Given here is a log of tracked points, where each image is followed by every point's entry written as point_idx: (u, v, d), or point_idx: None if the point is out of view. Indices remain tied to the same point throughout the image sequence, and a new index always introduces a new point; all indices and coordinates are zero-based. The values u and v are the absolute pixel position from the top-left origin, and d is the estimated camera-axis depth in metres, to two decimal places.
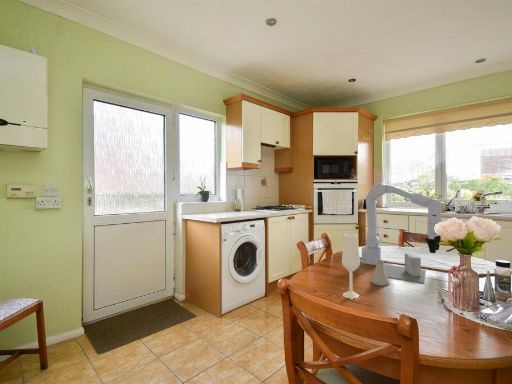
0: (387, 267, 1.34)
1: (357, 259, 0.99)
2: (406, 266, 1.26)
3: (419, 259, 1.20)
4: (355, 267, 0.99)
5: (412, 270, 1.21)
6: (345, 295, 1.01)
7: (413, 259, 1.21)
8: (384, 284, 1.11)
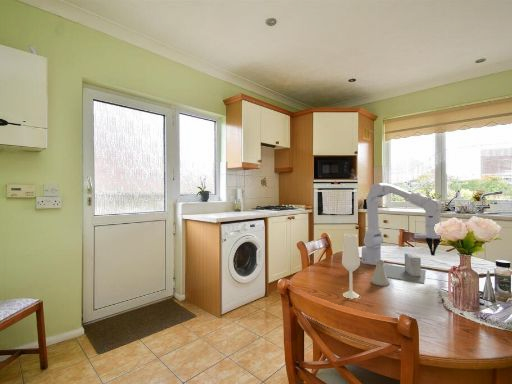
0: (387, 267, 1.34)
1: (357, 259, 0.99)
2: (406, 266, 1.26)
3: (419, 259, 1.20)
4: (355, 267, 0.99)
5: (412, 270, 1.21)
6: (345, 295, 1.01)
7: (413, 259, 1.21)
8: (384, 284, 1.11)
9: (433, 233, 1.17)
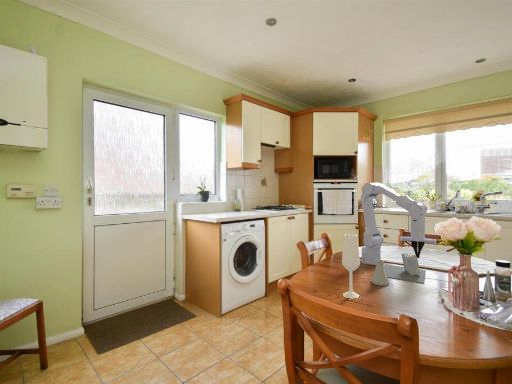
0: (387, 267, 1.34)
1: (357, 259, 0.99)
2: (405, 266, 1.26)
3: (415, 258, 1.21)
4: (355, 267, 0.99)
5: (411, 269, 1.21)
6: (345, 295, 1.01)
7: (410, 259, 1.21)
8: (384, 284, 1.11)
9: (418, 236, 1.20)
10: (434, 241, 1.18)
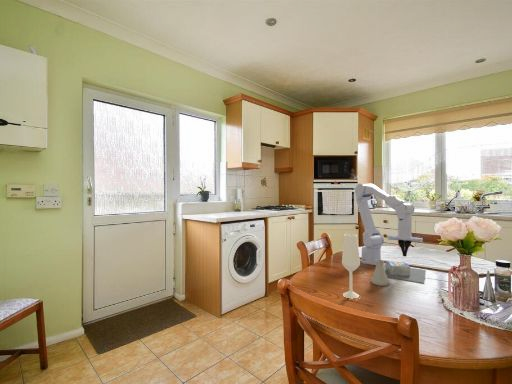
0: None
1: (357, 259, 0.99)
2: None
3: (392, 267, 1.23)
4: (355, 267, 0.99)
5: (403, 273, 1.22)
6: (345, 295, 1.01)
7: (392, 272, 1.23)
8: (384, 284, 1.11)
9: (405, 235, 1.23)
10: (420, 240, 1.21)
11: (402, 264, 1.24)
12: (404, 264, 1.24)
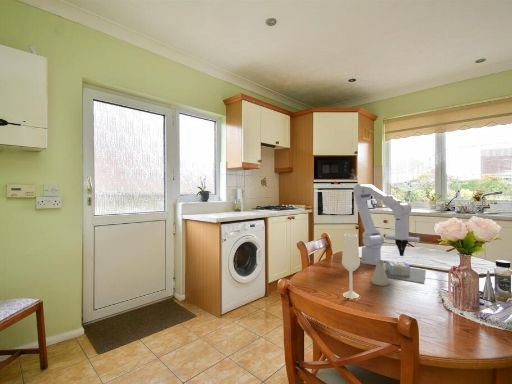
0: None
1: (357, 259, 0.99)
2: None
3: (392, 267, 1.23)
4: (355, 267, 0.99)
5: (403, 273, 1.22)
6: (345, 295, 1.01)
7: (392, 272, 1.23)
8: (384, 284, 1.11)
9: (402, 234, 1.24)
10: (417, 239, 1.22)
11: (402, 264, 1.24)
12: (404, 264, 1.24)
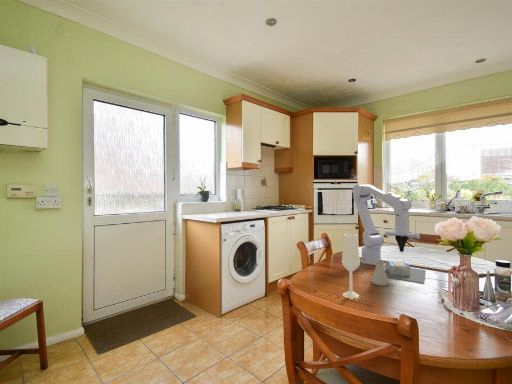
0: None
1: (357, 259, 0.99)
2: None
3: (392, 267, 1.23)
4: (355, 267, 0.99)
5: (403, 273, 1.22)
6: (345, 295, 1.01)
7: (392, 272, 1.23)
8: (384, 284, 1.11)
9: (402, 230, 1.24)
10: (417, 235, 1.22)
11: (402, 264, 1.24)
12: (404, 264, 1.24)
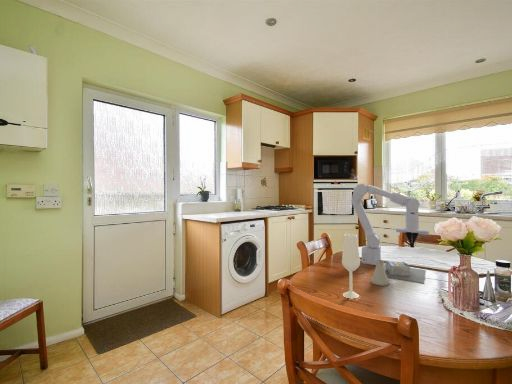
0: None
1: (357, 259, 0.99)
2: None
3: (392, 267, 1.23)
4: (355, 267, 0.99)
5: (403, 273, 1.22)
6: (345, 295, 1.01)
7: (392, 272, 1.23)
8: (384, 284, 1.11)
9: (412, 227, 1.32)
10: (427, 232, 1.30)
11: (402, 264, 1.24)
12: (404, 264, 1.24)
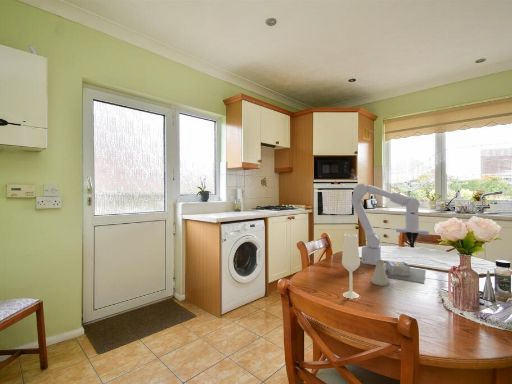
0: None
1: (357, 259, 0.99)
2: None
3: (392, 267, 1.23)
4: (355, 267, 0.99)
5: (403, 273, 1.22)
6: (345, 295, 1.01)
7: (392, 272, 1.23)
8: (384, 284, 1.11)
9: (412, 227, 1.32)
10: (427, 232, 1.30)
11: (402, 264, 1.24)
12: (404, 264, 1.24)
